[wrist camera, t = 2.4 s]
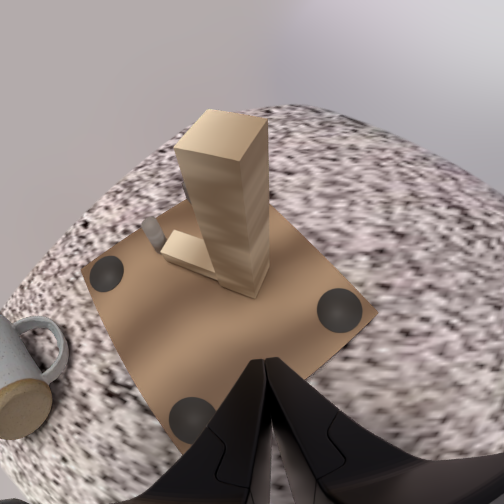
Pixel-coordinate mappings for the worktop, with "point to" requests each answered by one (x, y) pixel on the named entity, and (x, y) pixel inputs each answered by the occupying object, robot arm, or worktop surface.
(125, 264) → the stool seat
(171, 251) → the hinged leg
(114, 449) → the worktop surface
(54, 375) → the ceramic mug
